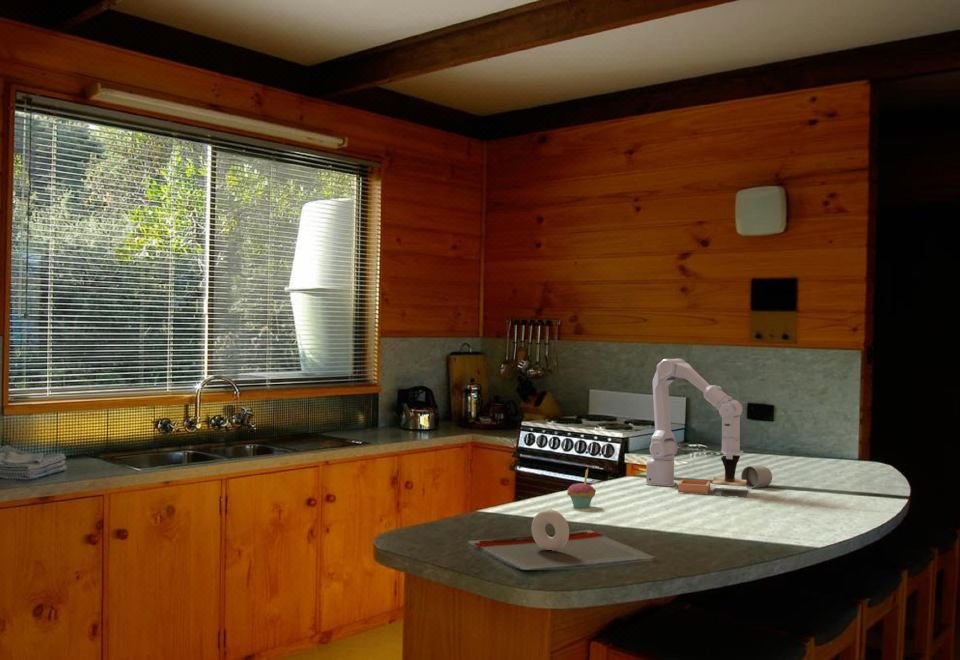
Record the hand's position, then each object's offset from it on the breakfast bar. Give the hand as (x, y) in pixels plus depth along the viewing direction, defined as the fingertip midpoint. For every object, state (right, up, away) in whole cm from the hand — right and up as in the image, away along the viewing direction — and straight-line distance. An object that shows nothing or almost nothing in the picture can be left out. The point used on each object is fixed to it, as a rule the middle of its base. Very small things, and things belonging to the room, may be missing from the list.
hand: (730, 478), depth 291 cm
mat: (0, -5, 0) cm, 5 cm away
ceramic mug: (+12, -5, +13) cm, 18 cm away
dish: (-11, -5, +3) cm, 13 cm away
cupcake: (-52, -5, -25) cm, 58 cm away
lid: (0, -2, 0) cm, 2 cm away
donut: (-66, -4, -80) cm, 104 cm away
